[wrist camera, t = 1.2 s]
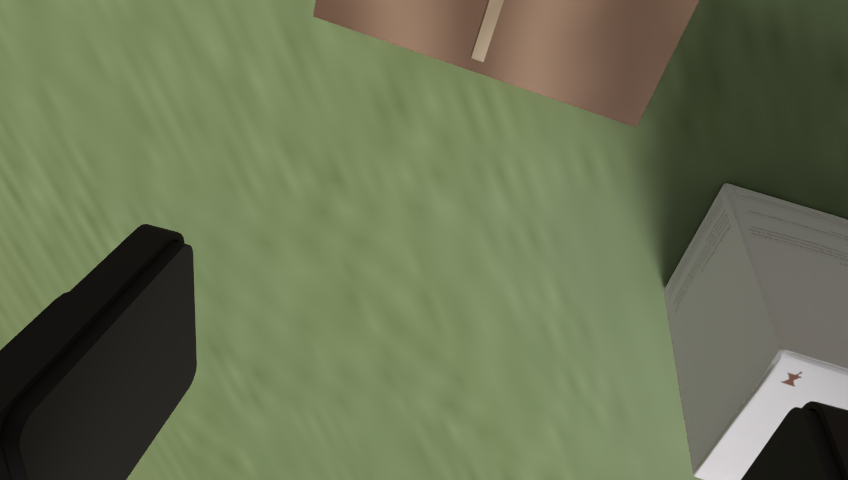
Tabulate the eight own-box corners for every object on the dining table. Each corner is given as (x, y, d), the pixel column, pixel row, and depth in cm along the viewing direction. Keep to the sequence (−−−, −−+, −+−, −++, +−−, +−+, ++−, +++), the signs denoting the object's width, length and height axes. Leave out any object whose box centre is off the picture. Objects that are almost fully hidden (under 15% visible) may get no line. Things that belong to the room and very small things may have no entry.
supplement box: (659, 291, 37) (683, 478, 27) (724, 177, 33) (783, 346, 23) (789, 333, 37) (865, 539, 27) (871, 224, 33) (1001, 417, 22)
